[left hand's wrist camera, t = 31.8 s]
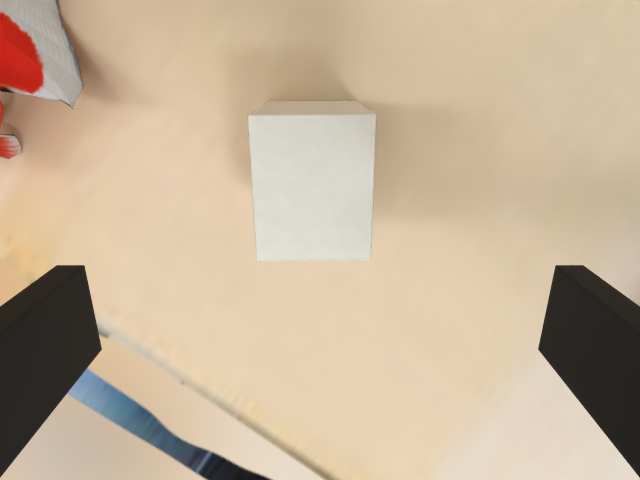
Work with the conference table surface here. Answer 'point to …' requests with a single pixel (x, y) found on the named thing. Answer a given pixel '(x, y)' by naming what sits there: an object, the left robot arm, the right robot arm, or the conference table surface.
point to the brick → (312, 180)
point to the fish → (35, 58)
